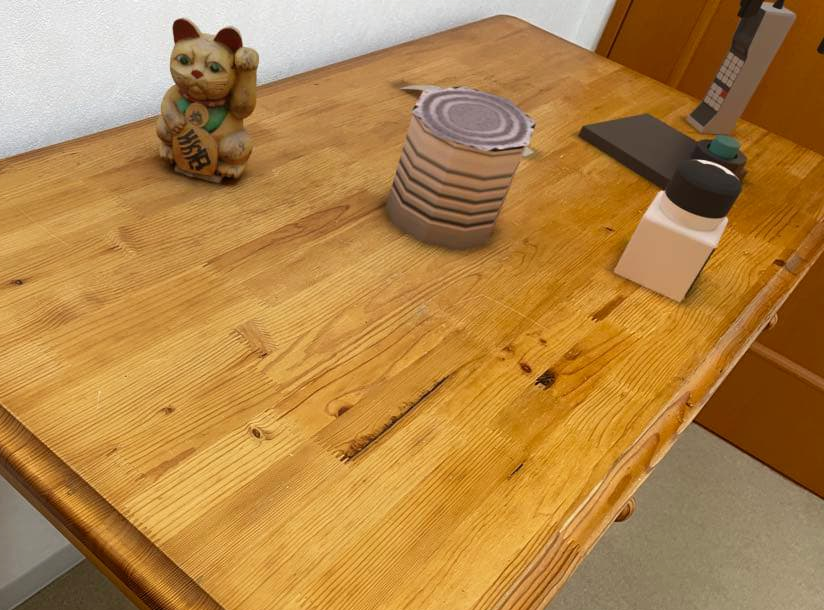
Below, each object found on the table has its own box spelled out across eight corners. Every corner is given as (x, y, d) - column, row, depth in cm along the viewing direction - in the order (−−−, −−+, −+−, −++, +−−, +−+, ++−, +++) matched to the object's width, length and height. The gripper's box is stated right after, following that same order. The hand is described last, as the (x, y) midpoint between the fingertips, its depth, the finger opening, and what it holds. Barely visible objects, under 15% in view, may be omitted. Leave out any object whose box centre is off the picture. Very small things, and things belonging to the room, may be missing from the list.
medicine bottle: (679, 307, 83) (746, 199, 75) (611, 275, 85) (668, 168, 77) (694, 276, 88) (757, 172, 80) (628, 248, 90) (684, 143, 82)
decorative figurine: (146, 176, 83) (157, 20, 73) (164, 139, 90) (176, -10, 79) (243, 197, 84) (266, 44, 74) (254, 158, 90) (277, 13, 80)
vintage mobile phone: (684, 123, 119) (786, -72, 102) (713, 125, 121) (818, -67, 104) (699, 136, 117) (806, -62, 100) (728, 137, 118) (838, -57, 101)
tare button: (738, 158, 105) (746, 145, 104) (724, 162, 104) (732, 148, 102) (717, 146, 107) (724, 133, 106) (703, 149, 105) (710, 136, 104)
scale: (741, 184, 107) (756, 159, 105) (677, 203, 100) (692, 176, 98) (641, 126, 116) (653, 101, 113) (576, 139, 109) (587, 113, 106)
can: (514, 245, 86) (560, 136, 78) (426, 262, 81) (466, 146, 73) (447, 187, 93) (484, 81, 85) (362, 199, 88) (393, 87, 79)
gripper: (992, -121, 78) (874, 63, 90) (821, -172, 87) (733, 1, 99) (962, -122, 74) (842, 71, 86) (786, -176, 83) (699, 5, 95)
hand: (784, 33), depth 92 cm, fingers open, 9 cm apart
